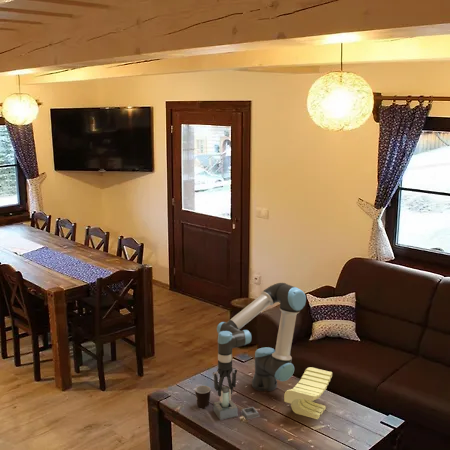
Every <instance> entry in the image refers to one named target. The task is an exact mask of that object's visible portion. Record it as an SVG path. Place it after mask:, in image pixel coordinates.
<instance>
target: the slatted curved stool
mask: <svg viewBox="0 0 450 450" xmlns="http://www.w3.org/2000/svg"><path fill="white" fill-rule="evenodd" d="M332 377H333V372H332V371H328V370H324V369H320V368H317V367H313V366H312V367H310V366H309V367H307V368H305V370H304V373H303V374H302V376H301V377H300V380H299V381H298V382H297V383H296V385H294V387H293V388H290V389H286V390H285V392H284V395H283V397H284V398H283V402H284V403H286V404H287V403H288V404H290V406H291V407H290V408H291V410H292V411H293V413H294V414H296V415H300V416H304V417H308V418H312V419H315V420H319V419H320V417H321V416H322V414H323V413H324V412H325V410H326V409H327V406H326V405H324V404H321V403H317V402H315V400H318V399H320V398H321V395H323V393H324V392H326V390H327V388H328V386H329V383H330V382H331V379H332Z"/></svg>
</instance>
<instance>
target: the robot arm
mask: <svg viewBox="0 0 450 450" xmlns="http://www.w3.org/2000/svg"><path fill="white" fill-rule="evenodd" d="M276 303H278V304H279V311H280V312H281V313H280V319H279V327H278V331H277V337H276V344H275V349H274V347H273V348H272V347H269V346H268V347H261V348H258V349H256V350H255V352H254V374H253V377H252V380H251V387H252V388H253V389H254V390H255V391H259V392H264V391H267V392H272V391H274V390H275V389H277V387H278V381H279V382H286V381H288V380H289V379H290V378H291V377H292V376H293V374H294V373H295V366H294V364H293V363H292V360H293V357H292V356H291V349H292V343H293V339H294V333H295V326H296V321H297V316H298V315H297V314H299V313H300V312H301V310H303V309H304V307H305V306H306V303H307V296H306V294H305V292H304V291H303V290H302V289H300V288H299V287H296V286H293V285H290V284H288V283H285V282H278V283H274V284H272V285H270V286H268V287H267V288H264V290H262V291H261V294H260V295H259V296H258V297H257V298H255V299H254V300H253V301H251V303H249V304H248V305H247V306H245V307H244V308H243V309H241V311H239V312H238V313H236V314H235V315H234V316H233V317H231V319H229V320H228V321H221V322H219V323H218V324H217V326H216V332H217V335H218V336H217V371H214V372H212V376H213V382H214V384H213V385H214V390H215V391H216V392H217V396H218V397H219V401H221V402H223V391H222V390H221V389H222V386H223V384H224V380H225V378H226V379H227V384H228V387H229V401H231V400H232V395H233V390H234V388H236V386H237V373H238V370H237V368H233V349H235V348H239V347H242V346H246V345H248V344H250V343H251V342H252V332H250V331H249V330H248V329H243V330H241V329H242V328H243V327H245V325H247V324H249V322H251V321H252V320H253V319H254V318H255V317H257V316H258V315H259V314H261V312H262V313H263V311H264V310H265V309H267V308H268V307H269V306H273V305H274V304H276ZM231 375H232V377H231ZM218 379H219V380H218Z"/></svg>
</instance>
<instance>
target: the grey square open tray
mask: <svg viewBox="0 0 450 450" xmlns="http://www.w3.org/2000/svg"><path fill="white" fill-rule="evenodd" d="M240 414H241V415H242V416H243V417H244V418H245V419H246V420H250V419H254V418H255V419H256V418H258V417H261V415H260V413H259V411H258V410H257V409H256V408H255V407H254V406H250V407H249V406H248V407H245V408H241V411H240Z"/></svg>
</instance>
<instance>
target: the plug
mask: <svg viewBox="0 0 450 450" xmlns="http://www.w3.org/2000/svg"><path fill="white" fill-rule="evenodd" d="M221 390H222V391H223V402H221V407H222V408H227V407H229V385H228V386H227V385H222V389H221Z"/></svg>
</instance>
